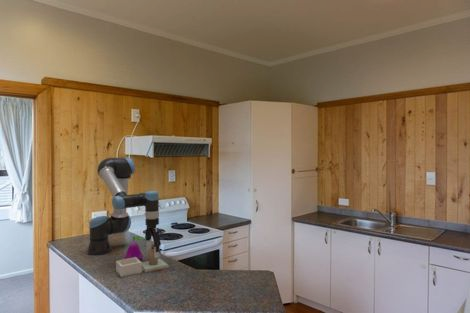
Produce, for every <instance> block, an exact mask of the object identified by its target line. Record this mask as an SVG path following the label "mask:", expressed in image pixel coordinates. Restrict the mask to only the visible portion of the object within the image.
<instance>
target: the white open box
mask: <svg viewBox="0 0 470 313" xmlns="http://www.w3.org/2000/svg"><path fill="white" fill-rule="evenodd" d="M141 262H142V261H141V260H138V259H137V258H136V257H133V258H128V259H124V258H123V259H118V260H115V269H116V270H115V271H116V273H117V274H118V276H119V277H120V278H125V277H129V276H130V277H131V276H133V275H140V274H142V272H143V271H142V264H141Z"/></svg>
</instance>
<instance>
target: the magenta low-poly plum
mask: <svg viewBox="0 0 470 313" xmlns="http://www.w3.org/2000/svg"><path fill="white" fill-rule="evenodd" d="M136 241H144V238H141V237H140V236H136V237H135V236H133V241H132V242H131V243H130V244H129V246H128V248H127V251H126V253H125V256H124V258H123V259H128V258H133V257H136V258H137V259H138V260H140V261H141V260H142V258H143V254H142V251H141V249H140V246H139V244H138V243H137V242H136Z"/></svg>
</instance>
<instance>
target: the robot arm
mask: <svg viewBox="0 0 470 313" xmlns="http://www.w3.org/2000/svg"><path fill="white" fill-rule="evenodd" d="M134 163H135V162H134V161H133V159H132V158H131V157H108V158H104V159H103V160H102V161H100V163H99V164H98V166H97V175H98V178H100V179H101V180H103V182H104V184H105V186H106V187H107V190H108V192H109V193H110V194H111V196H112V199H111V204H112V205H111V206H112V208H113V210H112V212H111V213H110V217H109V216H107V215H101V216H96V217H93V218H92V219H90V221H89V243H88V247H87V249H86V253H87V255H89V256H101V255H104V254H105V255H106V254H108V253H110V252H112V246H111V243H110V240H109V235H116V234H122V233H124V232H125V233H126V232H128V231H129V230H130V228H131V226H132V218H131V216H130V215H129V213H128V211H127V209H130V208H136V207H137V208H138V207H144V211H145V212H144V216H145V225H146V228H145V229H146V230H145V235H144V239H145V240H146V252H147V253H149V251H148V250H150V249H152V240H153V249H154V258H158V259H159V258H160V246H162V244H161V238H160V232H159V231H160V230H159V227H157V226H158V225H159V224H160V219H159V217H160V210H159V203H160V202H159V200H160V198H159V192H158V191H157V190H149V191H145V192H138V193H134V194H128V189H129V180H130V179H131V177H132V175H133V174H135V170H136V168H135V164H134Z"/></svg>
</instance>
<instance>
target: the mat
mask: <svg viewBox="0 0 470 313" xmlns="http://www.w3.org/2000/svg"><path fill="white" fill-rule="evenodd" d="M169 268H170V266H169V265H168V267H164V268H160V269H155V270H151V271H145V270H144V269H142V272H143V273H144V274H148V273H152V272H157V271H161V270H165V269H169Z"/></svg>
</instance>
